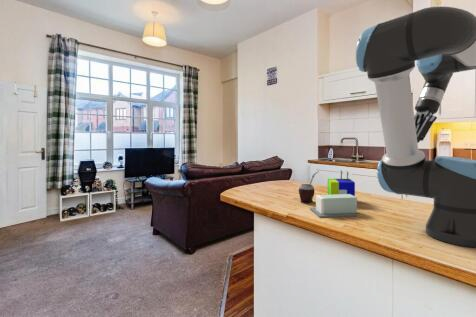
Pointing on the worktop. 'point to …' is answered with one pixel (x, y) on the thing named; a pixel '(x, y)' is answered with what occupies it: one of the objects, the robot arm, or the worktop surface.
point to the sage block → (336, 203)
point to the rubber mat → (331, 214)
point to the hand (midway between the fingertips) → (406, 157)
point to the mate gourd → (307, 192)
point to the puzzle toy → (341, 186)
